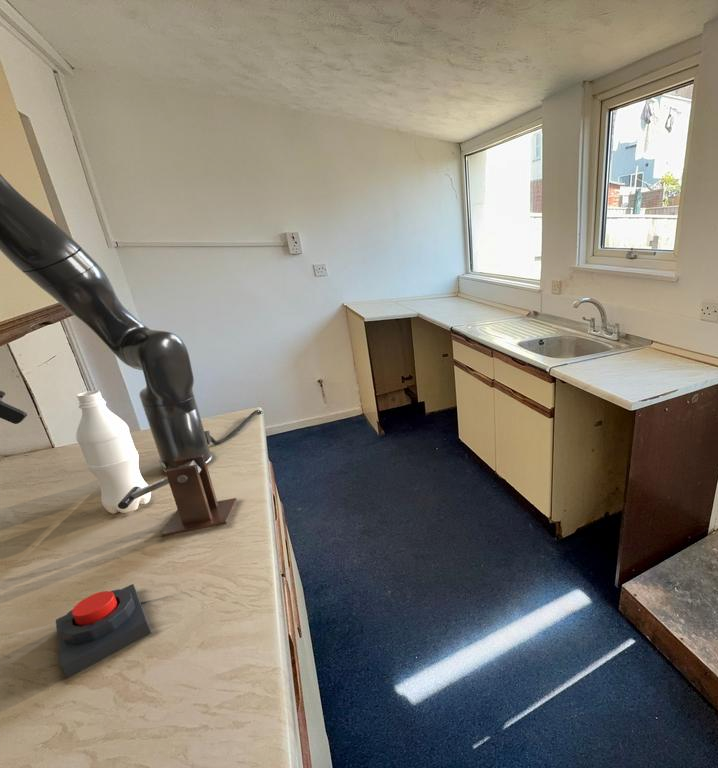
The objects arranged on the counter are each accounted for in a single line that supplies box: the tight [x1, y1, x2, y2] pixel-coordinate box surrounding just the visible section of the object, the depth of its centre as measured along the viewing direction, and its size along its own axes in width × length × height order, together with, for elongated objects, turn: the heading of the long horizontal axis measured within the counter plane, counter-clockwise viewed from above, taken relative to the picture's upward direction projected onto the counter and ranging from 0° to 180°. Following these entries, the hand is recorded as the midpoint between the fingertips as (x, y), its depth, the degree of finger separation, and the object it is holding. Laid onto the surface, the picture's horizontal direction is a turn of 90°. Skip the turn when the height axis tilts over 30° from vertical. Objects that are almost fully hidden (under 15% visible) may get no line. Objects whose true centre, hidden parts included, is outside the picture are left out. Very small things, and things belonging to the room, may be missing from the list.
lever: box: [118, 460, 202, 509], centre depth 73 cm, size 12×5×2 cm, turn 111°
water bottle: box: [75, 390, 152, 515], centre depth 77 cm, size 7×7×25 cm
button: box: [71, 590, 117, 626], centre depth 53 cm, size 4×4×2 cm
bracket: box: [160, 455, 238, 538], centre depth 75 cm, size 10×8×13 cm
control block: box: [55, 583, 152, 679], centre depth 54 cm, size 10×8×4 cm
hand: (3, 429), depth 64 cm, fingers open, 8 cm apart
